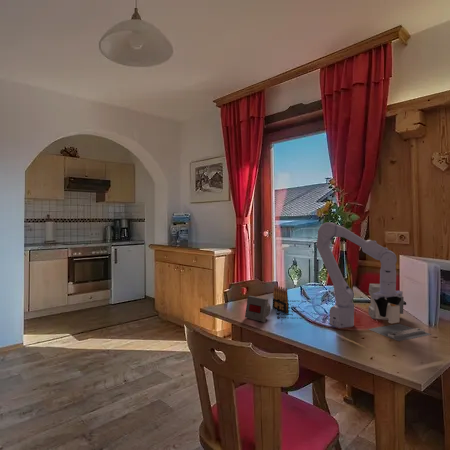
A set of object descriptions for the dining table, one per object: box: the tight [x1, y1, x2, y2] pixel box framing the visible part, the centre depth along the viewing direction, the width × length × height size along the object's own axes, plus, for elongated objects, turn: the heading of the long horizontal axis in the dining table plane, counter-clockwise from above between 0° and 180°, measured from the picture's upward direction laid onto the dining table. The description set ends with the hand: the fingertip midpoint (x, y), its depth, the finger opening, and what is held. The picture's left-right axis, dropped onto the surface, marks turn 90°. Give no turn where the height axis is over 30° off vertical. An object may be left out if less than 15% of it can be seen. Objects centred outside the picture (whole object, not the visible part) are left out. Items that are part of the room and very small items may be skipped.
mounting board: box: [367, 323, 432, 342], centre depth 129 cm, size 18×14×1 cm
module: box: [376, 303, 401, 325], centre depth 131 cm, size 4×7×7 cm, turn 24°
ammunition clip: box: [271, 284, 290, 315], centre depth 161 cm, size 11×2×12 cm, turn 28°
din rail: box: [387, 327, 426, 340], centre depth 126 cm, size 17×3×1 cm, turn 114°
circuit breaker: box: [367, 283, 407, 321], centre depth 148 cm, size 8×14×15 cm, turn 78°
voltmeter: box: [244, 295, 307, 323], centre depth 147 cm, size 27×11×10 cm, turn 86°
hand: (387, 315), depth 131 cm, fingers closed on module, 4 cm apart
